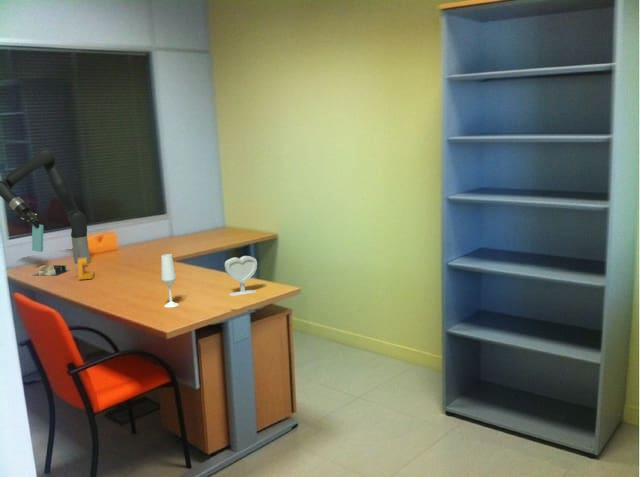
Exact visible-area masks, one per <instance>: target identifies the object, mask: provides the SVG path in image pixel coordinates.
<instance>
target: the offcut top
mask: <svg viewBox="0 0 640 477" xmlns="http://www.w3.org/2000/svg"><path fill="white" fill-rule="evenodd" d="M54 265H55V264H53V265H52V264H50V265H48V264H47V265H44V264H42V265H41V266H38V269H39V270H38V271H52V270H54Z"/></svg>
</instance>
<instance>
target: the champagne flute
mask: <svg viewBox="0 0 640 477" xmlns="http://www.w3.org/2000/svg"><path fill="white" fill-rule="evenodd" d="M160 257H161V258H160V260H161V278H160V280H161V281H162V283H164V284H165V285H166V286H168V299H169V302H167V303H166V304H165V305H163V307H164V308H174V307H175V308H176V307H178V306H179V304H180V303H177V302H174V301H173V296H172V285H173V284H174V283H175V281H176V279H177V274H176V269H175V264H174V259H173V254H172V253H166V254H162V255H161V256H160Z"/></svg>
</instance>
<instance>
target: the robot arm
mask: <svg viewBox="0 0 640 477" xmlns="http://www.w3.org/2000/svg"><path fill="white" fill-rule="evenodd" d="M41 167H43V168H44V169H45V171H46V173H47V175H48V180H49V183H50V185H51V187H52V190H53V191H54V194H55V195H56V197H57V199H58V200H59V202H60V204H61V205H62V207H63V209H64V212H65V214H66V218H67V220H68V222H69V224H70V228H71V229H70V230H71V232H70V236H71V238H70V239H71V245H72V254H73V262H74V264H78V258H85V257H87V258H88V264H90V263H91V260H90V259H91V258H90V249H89V240H88V225H87V217H86V215H85V214H84V213H83V212H81V210H80V209H79V207H78V206H77V204H76V202H75V200H74V196H73V192H72V189H71V188H72V187H71V186H70V185H69V183H68V181H67V178H66V176H65V175H64V173H63V172H62V171H61V169H60V167H59V165H58V162H57V160H56V158H55V155H54V152H53V149H51V148H49V147H42V148H40V149H39V150H38V151H37V153H36V154H35V155H34V156H33V157H32V158H31V159H30V160H28V161H27V162H25V163H24V164H22V165H20V166H18V167H17V168H15V169H13V170H11V172H9V173H8V174H7V175H5V177H6V178H5V179H4V180H3V181H2V180H0V197H1V198H2V199H3V200H4V201H5V203H6V204H7V205H8V206H9V207H10V208H11V209H12V210H13V211H14V212H15V213H16V214H17V215H18V216H19V217H20V219H19V220H20V221H22V222H25V223H26V224H28V225H32V224H33V225H34V226H35V227H36V228H39V225H43V224H42V223H41V222H40V220H41V218H40V215H39V213H38V212H33V211H32V210H31V207H30V206H29V204H27V203H26V202H25V201H24V200H23V199H22V198H21V197H19V196H18V195H17V194H16V193H15V191H13V190H12V189H13V188H14V187H15V185H17V184H18V183H19V182H21V181H22V180H23V179H25V178H27V176H29V175H30V174H31V173H33V172H35V171H36V170H38V169H40V168H41Z"/></svg>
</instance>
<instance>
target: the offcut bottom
mask: <svg viewBox="0 0 640 477" xmlns="http://www.w3.org/2000/svg"><path fill="white" fill-rule="evenodd" d="M38 273H39V275H54V274H56V272H55V270H52V271H40V270H38Z"/></svg>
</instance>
